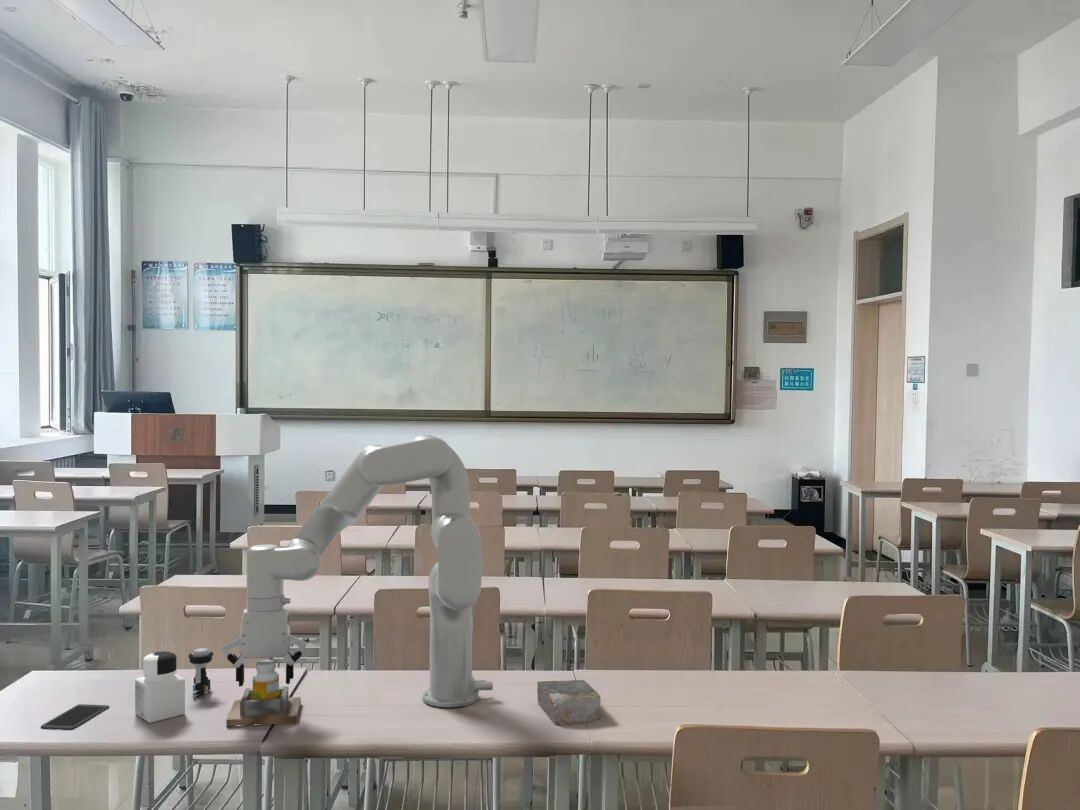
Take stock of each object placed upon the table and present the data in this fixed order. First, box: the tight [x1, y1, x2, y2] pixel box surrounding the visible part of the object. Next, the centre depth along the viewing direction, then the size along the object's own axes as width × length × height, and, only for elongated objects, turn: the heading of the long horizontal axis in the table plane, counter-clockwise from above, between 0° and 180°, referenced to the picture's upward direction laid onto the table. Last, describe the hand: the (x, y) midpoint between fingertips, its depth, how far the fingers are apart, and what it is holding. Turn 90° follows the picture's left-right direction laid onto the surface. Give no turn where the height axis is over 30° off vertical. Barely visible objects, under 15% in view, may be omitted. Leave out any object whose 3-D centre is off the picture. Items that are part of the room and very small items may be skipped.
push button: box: [187, 647, 214, 698], centre depth 211 cm, size 7×5×10 cm
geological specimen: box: [536, 679, 602, 726], centre depth 202 cm, size 11×6×15 cm
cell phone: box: [40, 703, 110, 731], centre depth 196 cm, size 7×14×1 cm, turn 174°
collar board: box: [225, 686, 302, 726], centre depth 198 cm, size 14×12×4 cm
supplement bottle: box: [252, 659, 280, 700], centre depth 198 cm, size 5×5×10 cm
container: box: [134, 650, 186, 724], centre depth 198 cm, size 8×8×13 cm
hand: (264, 683), depth 198 cm, fingers open, 9 cm apart
